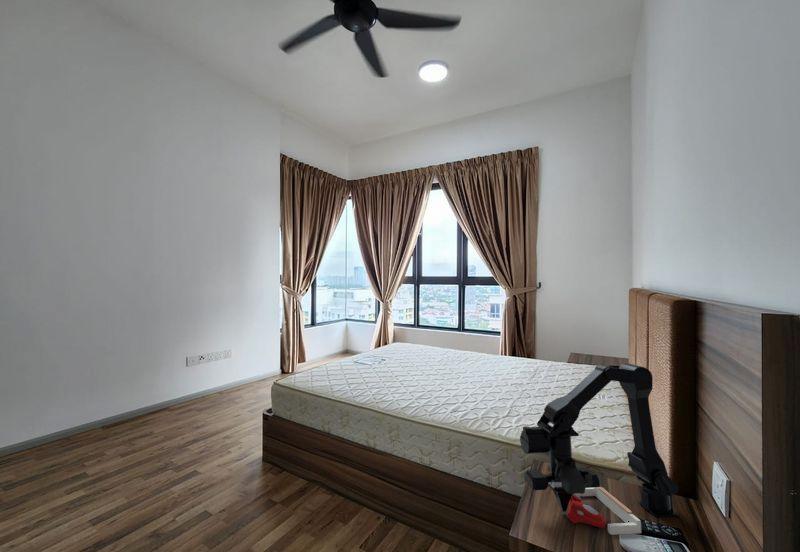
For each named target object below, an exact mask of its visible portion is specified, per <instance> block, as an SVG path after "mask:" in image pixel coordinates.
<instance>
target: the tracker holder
mask: <svg viewBox="0 0 800 552" xmlns="http://www.w3.org/2000/svg"><path fill="white" fill-rule="evenodd" d="M581 500H582V498H581V496H578V495H576V494H572V496H571V498H570V501H569V504H568V507H569V508H568V511H567V516H566V517H567V519H568V520H570V522H571V523H573V525H574V524H577V523H585V524H588V525H590V526H594V527H597V528H600V529H602V528H603V529H604V528H605V526H606V524H607V522H606V519H605V517H604V516H603V515H602V514H601V513H600V512H599V511H598V510H597V509H595V508H594V507H593V506H591V505H589V504H587V503H585V502H582V501H581Z"/></svg>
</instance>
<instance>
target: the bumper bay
mask: <svg viewBox="0 0 800 552" xmlns="http://www.w3.org/2000/svg"><path fill="white" fill-rule="evenodd" d="M576 495H578V496H579V497H596V498H597V499H598V501H599V500H600V502H601V503H602V504H604V505H605V506H606V507H607V508H608V509H609V510H611V512H613V514H615V515H616V516H617V517H619V518H620V519H621V520H622V521H623V522H616V523H607V533H608V534H609V535H615V536H616V535H634V534H642V522H641V519H639V518H638V517H637V516H636V515H635V514H633V511H632V510H631V509H629V508H628V507H627V506H626V505H624V504H623V502H621V501H619V500H618V499H617V498H616V497H614V495H612V494H611V493H610V492H608V491H607V490H606V489H605V488H604V487H602V486H600V487H594V488H585V493H584V494H581V493H576ZM628 521H629V522H628Z"/></svg>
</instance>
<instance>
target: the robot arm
mask: <svg viewBox="0 0 800 552" xmlns="http://www.w3.org/2000/svg"><path fill="white" fill-rule="evenodd" d="M613 381H614V382H618V383H619V384H620V387H621V388H622V390H623V392H624V393H625V394H626V397H627V402H628V403H627V404H628V409H629V416H630V423H631V430H632V435H633V436H632V437H633V443H634V444H633V445H634V448H633V449H632V451H627V454H626V455H627V458H628V467H630V469H631V471H632V472H633V473H634V475H635V477H636V478H637V479H638V480H639V481H641V489H640V496H641V498H640V499H641V501H640V500H639V501H638V504H639V505H640V506H641V507H643V508H644V509H646V510H647V511H648V512H649V513H651V514H652V515H653V516H654V517H658V518H659V517H662V518H663V517H678V516H679V512H677V511H675V510H674V503H673V495H678V492H679V488H680V487H679V485H678V484H677V483H676V482H675V481H674V480H673V479H671V477H670V476H669V475H668V470H667V468H666V464H665V461H664V460H663V459H662V457H661V455H660V454H659V452H658V450H657V446H656V441H655V434H654V428H653V427H654V426H653V421H652V416H651V409H650V403H649V396H650V395H651V393H652V391H653V385H654V384H653V383H654V382H653V373H652V372H651V370H649V369H648V368H646V367H644V366H642V365H641V366H640V365H636V364H633V363H627V362H626V363H622V364H621V365H614V364H613V365H612V364H607V365H606V364H603V363H602V364H601V363H600V364H598V365H596V366H595V367H594V369H593V371H591V372H590V373H589V374H588V375H586V377H585V378H583V379H582V380H581V382H579V383H578V384H577V385H576V386H575V387H574V388H572V389H571V391H569V393H567V394H565V395H563V396H561V397H558V398H556V399H554V400H552V401H550V402H549V403H547V404H546V405H545V407H544V409H543V410H544V412H543V413H542V415H541V416H540V418H539V420H538V421H537V423H536V425H537V426H523V427H522V431H521V433H520V435H519V441H520V446H521V449H522V452H523V453H524V454H526V455H529V454H530V455H533V454H546V455H547V456H548V457H549V466H547V471H548V472H549V473H550V474H549V473H548V474H547V473H545V474H543V473H542V472H541V470H539V469H526V471H525V473H524V480H525V482H526V483H527V485H529V486H530V487H531V489H532V490H534V491H546V490H547V489H548V487H549V488H550V489H551V490H552V491H553V494H554V497H555V499H556V501H557V504H558V506H559V508H560V510H561V511H562V512H565V513H566V512H567V510H568V507H569V501H570V498H571V496H572V494H576V493H581V494H584V493H585V488H594V487H601V479H600V477H599V475H598V474H596V472H594V471H593V470H592V469H590V468H589V467H588V466H587V467H577V466H576V465H577V464H576V459H575V458H573V452H572V451H573V450H572V437H579V436H580V434H579V433H578V432H577V431H576V430H575V429H574V428H573V426H574V424H575V423H576V421H577V420H578V419H579V416H580V412H581V410H582V409H583V408H584V406H586V405H588V403H589V402H590V401H591V400H593V398H594V397H595V396H597V394H599V393H600V392H601V391H602V390H603V389H604V388H605V387H606V386H607V385H608V384H610V382H613ZM549 423H550V424H551V425H550V424H549Z"/></svg>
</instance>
